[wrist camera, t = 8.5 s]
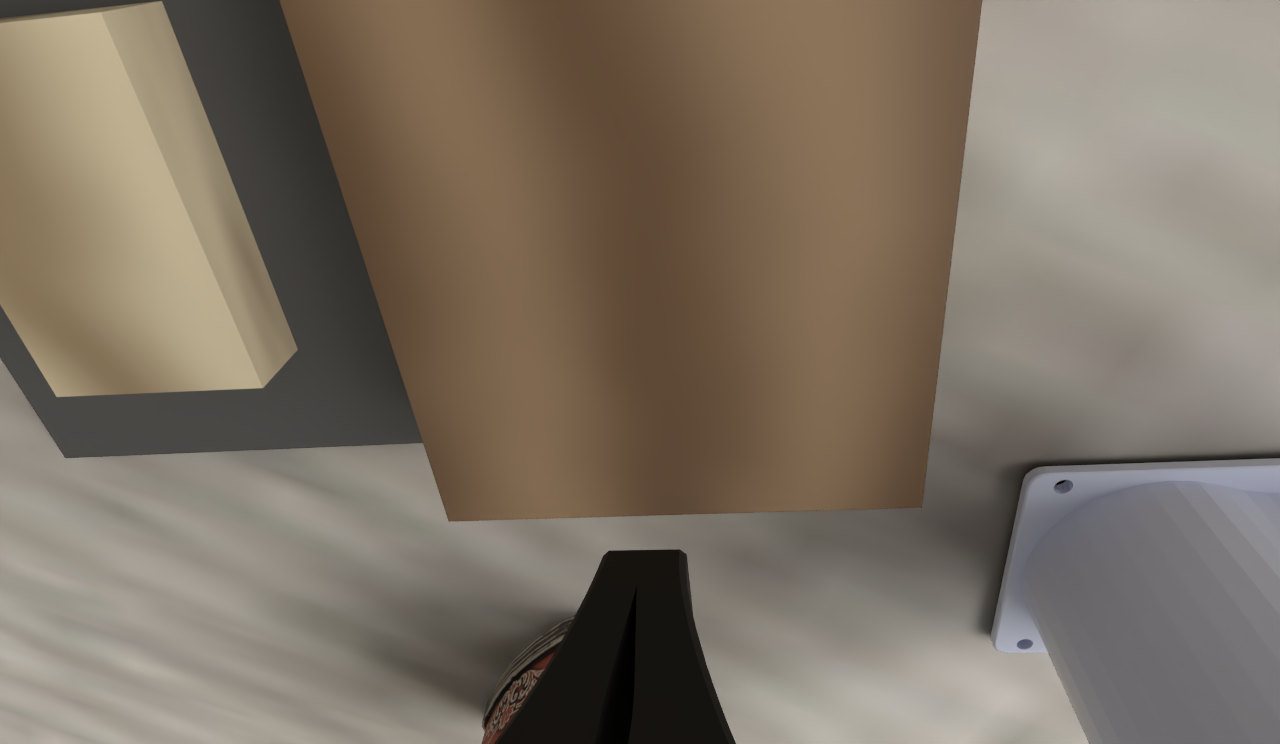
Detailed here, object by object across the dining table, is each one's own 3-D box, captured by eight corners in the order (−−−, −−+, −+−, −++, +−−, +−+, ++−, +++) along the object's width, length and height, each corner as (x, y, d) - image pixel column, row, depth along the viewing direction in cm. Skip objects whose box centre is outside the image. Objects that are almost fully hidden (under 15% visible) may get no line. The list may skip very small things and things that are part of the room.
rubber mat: (311, -226, 15) (299, -230, 14) (486, 430, 23) (482, 440, 23) (-291, -132, 16) (-317, -132, 16) (76, 448, 25) (65, 458, 24)
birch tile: (-161, 40, 16) (-77, 26, 17) (56, 396, 20) (106, 359, 22) (100, 12, 15) (161, 1, 17) (262, 387, 20) (297, 349, 21)
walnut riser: (947, -326, 13) (1029, -402, 10) (888, 412, 22) (921, 507, 18) (311, -226, 15) (193, -264, 11) (486, 430, 23) (448, 521, 20)
